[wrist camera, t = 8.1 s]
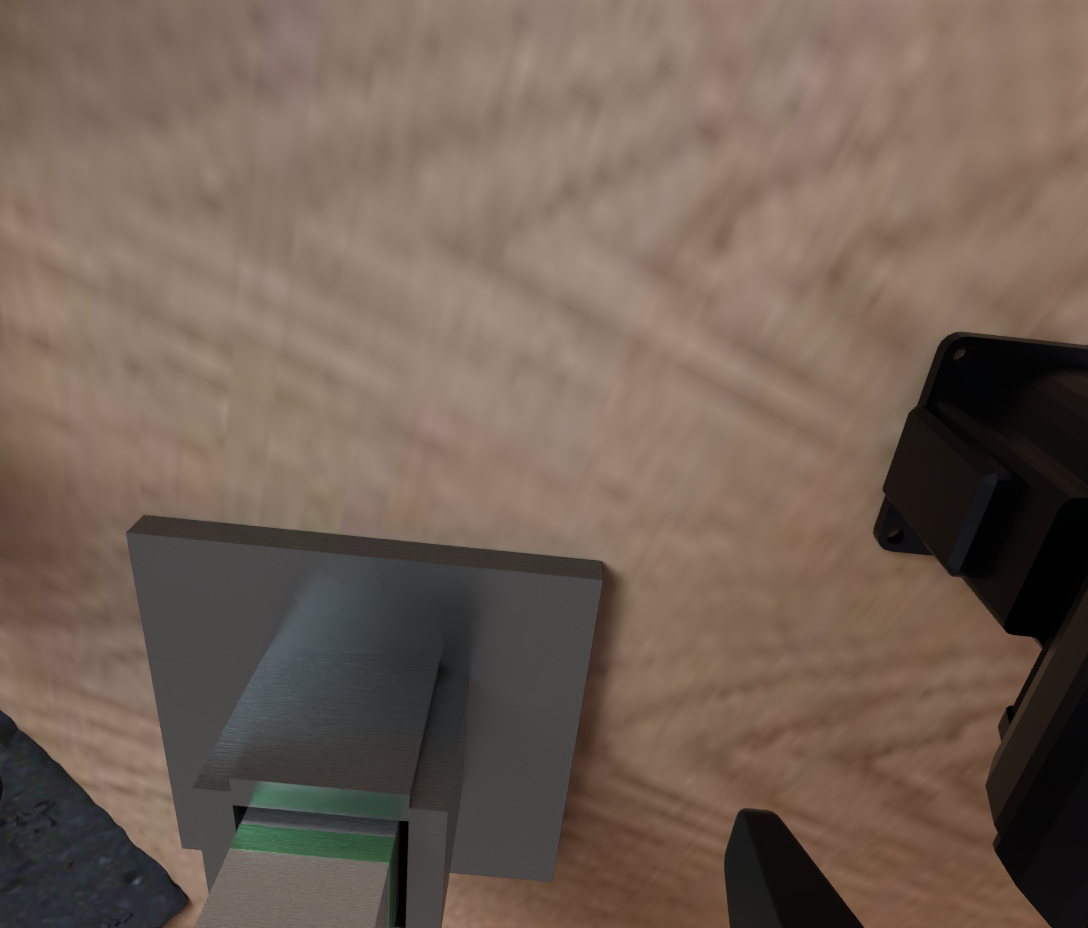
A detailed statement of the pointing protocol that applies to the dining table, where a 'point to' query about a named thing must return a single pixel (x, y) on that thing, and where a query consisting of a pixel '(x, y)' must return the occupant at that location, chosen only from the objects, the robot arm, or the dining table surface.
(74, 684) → the dining table surface
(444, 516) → the dining table surface
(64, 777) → the dark slate chunk
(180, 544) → the stand
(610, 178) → the dining table surface
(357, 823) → the column
